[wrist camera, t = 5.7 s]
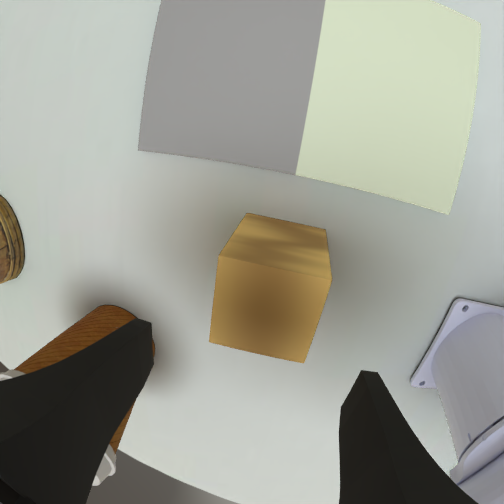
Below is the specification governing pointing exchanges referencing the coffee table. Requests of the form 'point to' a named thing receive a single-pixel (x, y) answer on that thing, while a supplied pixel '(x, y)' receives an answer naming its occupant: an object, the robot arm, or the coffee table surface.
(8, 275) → the wooden mug
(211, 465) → the coffee table surface
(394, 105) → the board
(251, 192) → the coffee table surface
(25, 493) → the robot arm
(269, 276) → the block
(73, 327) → the disposable coffee cup
